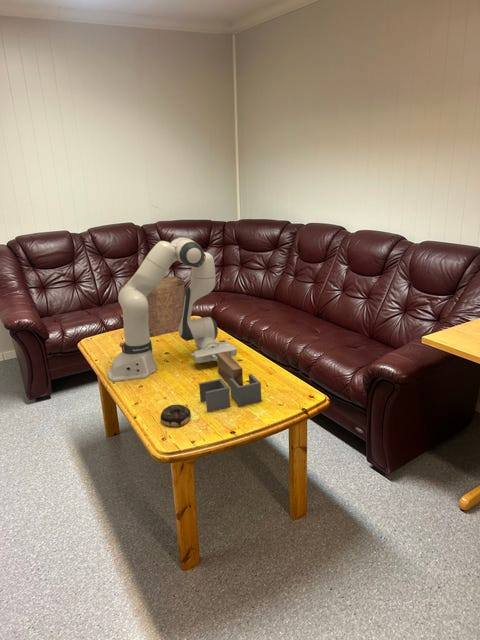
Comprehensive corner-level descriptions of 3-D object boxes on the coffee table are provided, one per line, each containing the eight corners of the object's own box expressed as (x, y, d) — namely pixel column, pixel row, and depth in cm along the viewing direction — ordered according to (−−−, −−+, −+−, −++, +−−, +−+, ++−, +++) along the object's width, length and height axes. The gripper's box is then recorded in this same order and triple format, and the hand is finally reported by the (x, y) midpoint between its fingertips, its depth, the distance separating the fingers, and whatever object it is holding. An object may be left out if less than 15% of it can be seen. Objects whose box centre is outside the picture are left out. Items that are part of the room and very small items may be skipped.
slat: (234, 392, 187) (233, 370, 184) (218, 373, 205) (217, 353, 201) (243, 390, 188) (242, 368, 185) (226, 371, 206) (225, 351, 203)
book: (146, 338, 252) (139, 285, 242) (140, 333, 260) (134, 282, 250) (188, 329, 264) (183, 278, 254) (182, 324, 271) (177, 275, 262)
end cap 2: (239, 406, 175) (238, 387, 172) (230, 396, 183) (229, 378, 181) (261, 401, 178) (260, 382, 176) (252, 391, 186) (251, 373, 184)
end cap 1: (230, 406, 175) (229, 388, 173) (207, 412, 172) (206, 393, 170) (222, 396, 184) (220, 378, 181) (200, 401, 181) (198, 383, 178)
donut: (158, 428, 163) (157, 418, 162) (164, 411, 175) (163, 402, 173) (188, 427, 163) (187, 418, 162) (193, 411, 174) (192, 401, 173)
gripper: (189, 347, 213) (198, 357, 200) (230, 339, 220) (240, 349, 207) (190, 359, 215) (199, 370, 202) (230, 351, 222) (241, 362, 209)
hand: (220, 359), depth 205 cm, fingers closed
